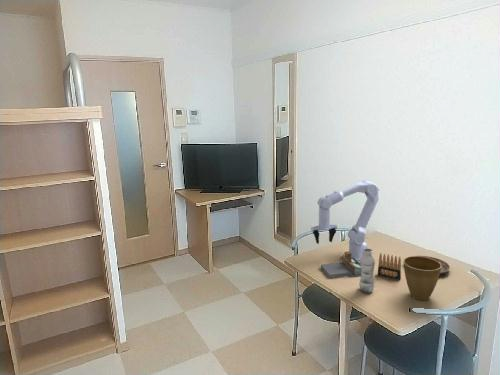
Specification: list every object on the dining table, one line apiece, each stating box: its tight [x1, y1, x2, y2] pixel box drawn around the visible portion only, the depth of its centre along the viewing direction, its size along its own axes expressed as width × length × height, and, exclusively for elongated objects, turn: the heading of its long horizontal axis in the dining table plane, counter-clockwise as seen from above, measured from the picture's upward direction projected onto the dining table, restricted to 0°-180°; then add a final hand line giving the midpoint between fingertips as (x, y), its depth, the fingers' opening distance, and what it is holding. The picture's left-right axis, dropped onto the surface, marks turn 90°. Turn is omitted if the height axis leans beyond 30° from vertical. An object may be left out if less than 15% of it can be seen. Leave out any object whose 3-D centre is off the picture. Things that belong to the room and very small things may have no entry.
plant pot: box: [403, 255, 442, 301], centre depth 152 cm, size 15×15×16 cm
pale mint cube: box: [352, 263, 361, 270], centre depth 177 cm, size 4×4×3 cm
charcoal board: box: [320, 261, 354, 279], centre depth 179 cm, size 12×12×2 cm
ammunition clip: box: [376, 252, 402, 281], centre depth 170 cm, size 11×2×12 cm, turn 56°
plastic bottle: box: [358, 248, 376, 293], centre depth 158 cm, size 6×7×20 cm
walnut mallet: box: [340, 250, 355, 272], centre depth 179 cm, size 2×13×8 cm, turn 11°
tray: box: [352, 257, 361, 277], centre depth 180 cm, size 6×14×4 cm, turn 11°
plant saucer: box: [421, 255, 451, 276], centre depth 178 cm, size 21×21×3 cm
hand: (324, 242), depth 191 cm, fingers open, 7 cm apart
